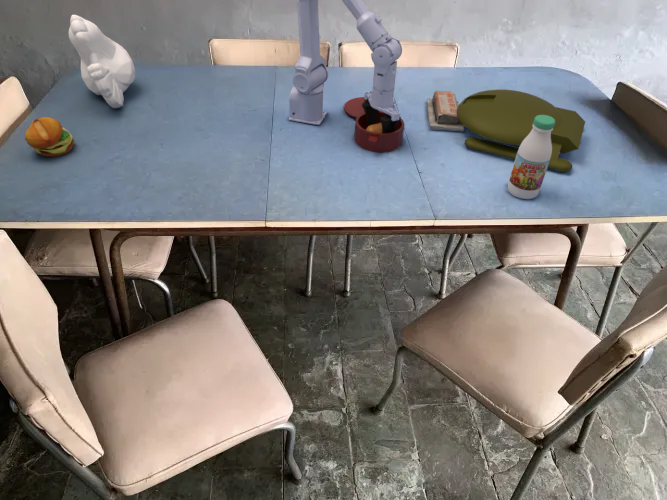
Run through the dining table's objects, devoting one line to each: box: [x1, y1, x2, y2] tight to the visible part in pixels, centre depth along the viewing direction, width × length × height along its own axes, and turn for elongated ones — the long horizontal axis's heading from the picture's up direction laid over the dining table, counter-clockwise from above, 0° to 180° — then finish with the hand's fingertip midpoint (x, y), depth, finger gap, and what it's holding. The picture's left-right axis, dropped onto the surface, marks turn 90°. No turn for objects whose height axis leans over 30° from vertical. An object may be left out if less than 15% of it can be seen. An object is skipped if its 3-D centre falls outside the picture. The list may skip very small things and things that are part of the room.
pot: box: [353, 111, 406, 153], centre depth 153 cm, size 13×19×5 cm
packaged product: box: [426, 90, 465, 133], centre depth 165 cm, size 18×5×10 cm
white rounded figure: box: [68, 14, 136, 109], centre depth 160 cm, size 25×16×25 cm
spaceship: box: [457, 89, 586, 173], centre depth 156 cm, size 35×31×10 cm
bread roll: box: [366, 123, 382, 133], centre depth 153 cm, size 8×4×4 cm, turn 119°
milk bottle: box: [507, 115, 555, 200], centre depth 131 cm, size 8×8×20 cm
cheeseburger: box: [24, 116, 74, 157], centre depth 142 cm, size 10×11×10 cm
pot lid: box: [343, 96, 367, 119], centre depth 166 cm, size 14×14×5 cm
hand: (378, 133), depth 153 cm, fingers open, 7 cm apart
